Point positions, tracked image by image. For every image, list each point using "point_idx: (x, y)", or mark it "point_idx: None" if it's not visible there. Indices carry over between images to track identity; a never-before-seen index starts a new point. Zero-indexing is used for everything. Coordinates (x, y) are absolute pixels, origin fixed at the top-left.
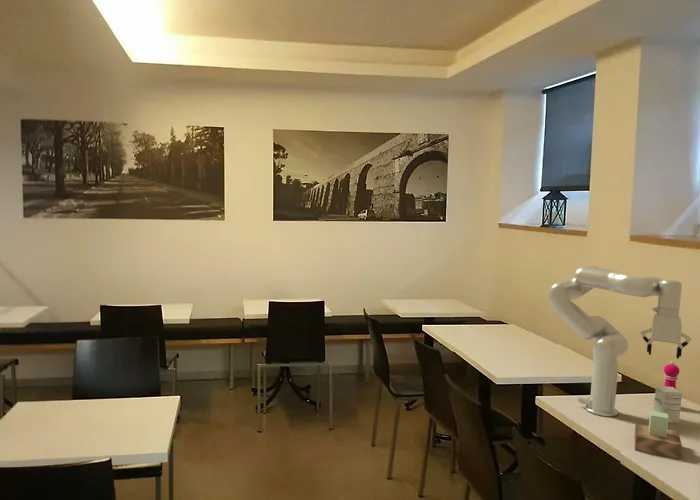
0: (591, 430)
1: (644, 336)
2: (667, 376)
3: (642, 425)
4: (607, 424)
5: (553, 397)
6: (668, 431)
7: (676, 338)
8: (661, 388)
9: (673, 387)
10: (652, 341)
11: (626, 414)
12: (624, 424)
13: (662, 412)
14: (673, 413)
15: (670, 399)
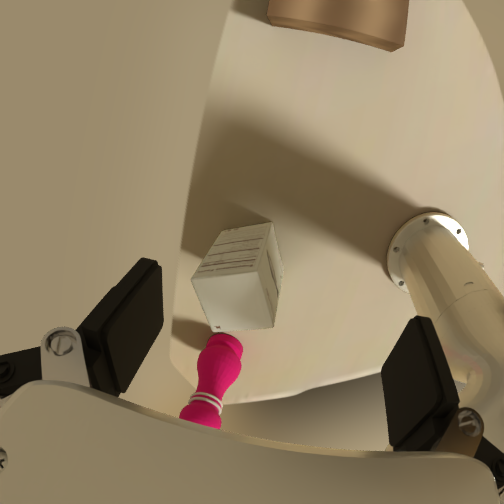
0: (493, 82)
1: (499, 489)
2: (215, 403)
3: (383, 33)
4: (446, 142)
5: None
6: (302, 1)
7: (30, 457)
8: (259, 304)
9: (204, 377)
10: (442, 447)
11: (362, 253)
12: (397, 157)
13: (267, 233)
14: (233, 238)
15: (236, 258)
